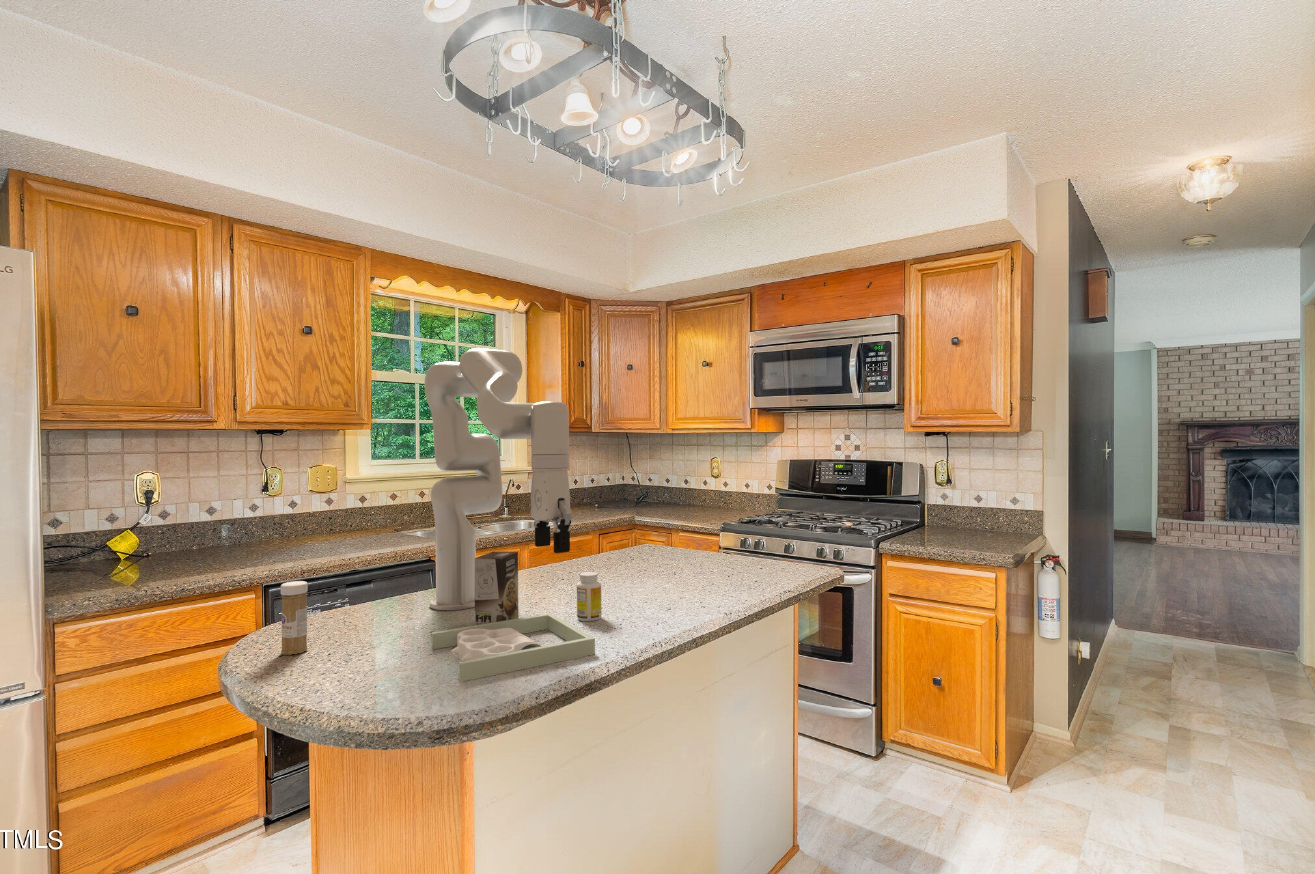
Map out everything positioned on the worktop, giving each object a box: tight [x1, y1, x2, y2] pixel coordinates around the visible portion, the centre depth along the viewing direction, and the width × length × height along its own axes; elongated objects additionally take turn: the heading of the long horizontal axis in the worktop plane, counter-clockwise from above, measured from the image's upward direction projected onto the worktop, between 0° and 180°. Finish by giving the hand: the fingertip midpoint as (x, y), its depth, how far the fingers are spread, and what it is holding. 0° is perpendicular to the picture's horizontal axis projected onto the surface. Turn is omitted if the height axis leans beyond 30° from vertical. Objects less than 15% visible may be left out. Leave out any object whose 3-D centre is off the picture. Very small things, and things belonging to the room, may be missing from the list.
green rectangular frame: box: [430, 612, 596, 683], centre depth 125 cm, size 21×25×3 cm
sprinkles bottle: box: [280, 580, 308, 656], centre depth 126 cm, size 5×5×14 cm
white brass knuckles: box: [449, 628, 542, 662], centre depth 123 cm, size 3×18×15 cm
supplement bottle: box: [576, 571, 603, 622], centre depth 147 cm, size 6×6×10 cm
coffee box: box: [474, 551, 520, 626], centre depth 140 cm, size 9×6×16 cm
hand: (552, 549), depth 130 cm, fingers open, 9 cm apart
